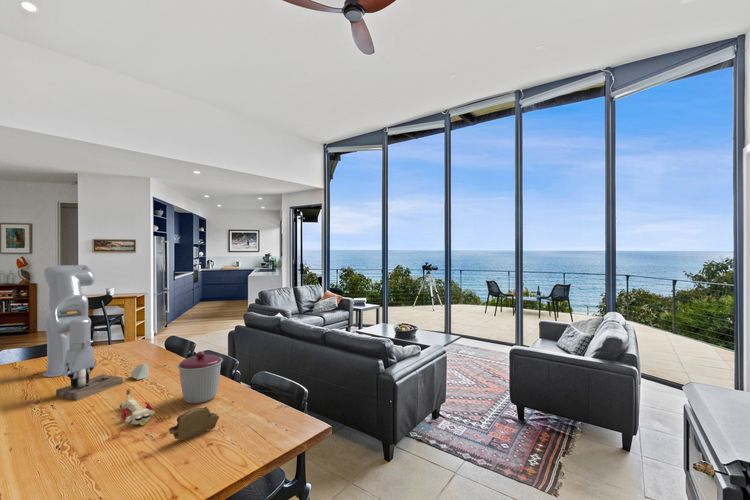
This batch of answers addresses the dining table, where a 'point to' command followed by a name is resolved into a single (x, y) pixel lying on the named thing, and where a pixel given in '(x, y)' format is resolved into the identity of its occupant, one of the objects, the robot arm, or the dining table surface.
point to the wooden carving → (194, 423)
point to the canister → (200, 377)
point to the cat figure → (136, 411)
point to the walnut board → (90, 387)
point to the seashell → (140, 372)
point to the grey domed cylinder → (81, 379)
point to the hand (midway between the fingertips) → (80, 384)
